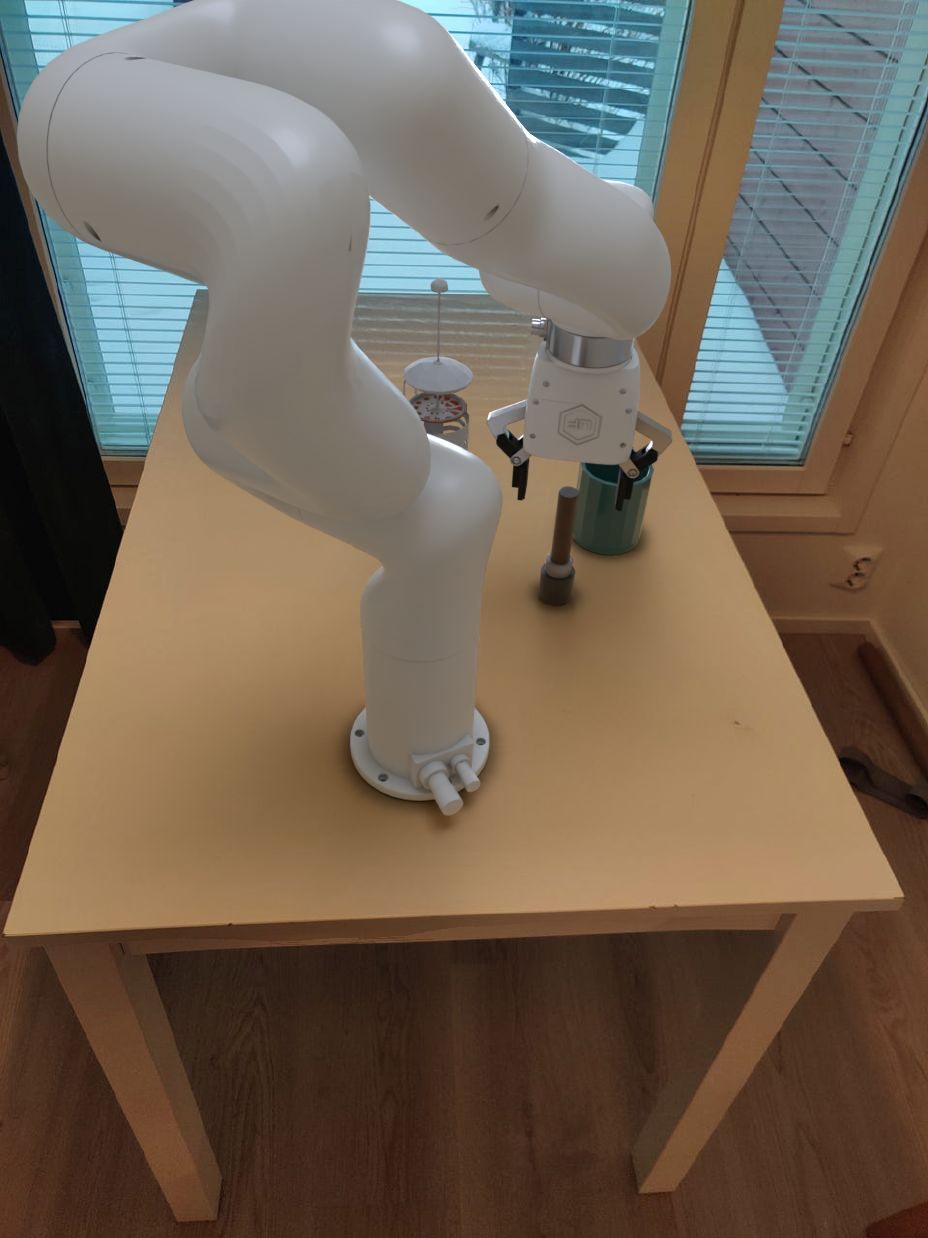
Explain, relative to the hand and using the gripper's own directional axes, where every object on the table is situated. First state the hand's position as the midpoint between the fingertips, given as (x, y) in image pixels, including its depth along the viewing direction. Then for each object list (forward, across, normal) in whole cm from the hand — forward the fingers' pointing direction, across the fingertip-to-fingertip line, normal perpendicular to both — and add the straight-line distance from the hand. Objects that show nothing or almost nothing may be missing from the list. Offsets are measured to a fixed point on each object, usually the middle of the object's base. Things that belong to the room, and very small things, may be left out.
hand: (570, 497), depth 93 cm
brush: (+12, 0, -1) cm, 13 cm away
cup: (+13, +5, +11) cm, 18 cm away
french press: (+13, -17, +20) cm, 30 cm away
